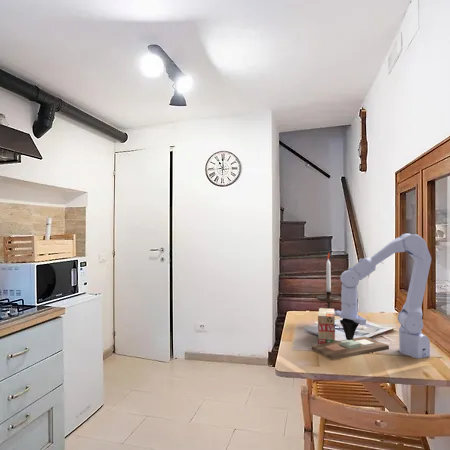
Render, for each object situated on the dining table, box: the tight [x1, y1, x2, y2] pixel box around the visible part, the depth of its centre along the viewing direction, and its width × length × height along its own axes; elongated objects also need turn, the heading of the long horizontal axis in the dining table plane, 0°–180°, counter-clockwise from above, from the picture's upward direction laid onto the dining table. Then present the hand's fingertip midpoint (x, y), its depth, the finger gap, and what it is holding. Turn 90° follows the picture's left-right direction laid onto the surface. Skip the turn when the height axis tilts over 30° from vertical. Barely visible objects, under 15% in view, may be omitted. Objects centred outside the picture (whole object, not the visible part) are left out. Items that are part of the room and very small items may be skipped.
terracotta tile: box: [325, 344, 345, 352], centre depth 133 cm, size 5×5×2 cm
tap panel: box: [311, 336, 390, 361], centre depth 136 cm, size 12×26×2 cm, turn 113°
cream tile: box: [355, 339, 374, 346], centre depth 139 cm, size 5×5×2 cm
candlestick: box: [316, 252, 341, 326], centre depth 167 cm, size 11×11×35 cm
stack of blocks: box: [317, 307, 336, 345], centre depth 151 cm, size 21×6×12 cm, turn 163°
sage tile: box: [339, 339, 360, 349], centre depth 136 cm, size 5×5×2 cm
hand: (349, 339), depth 136 cm, fingers closed
